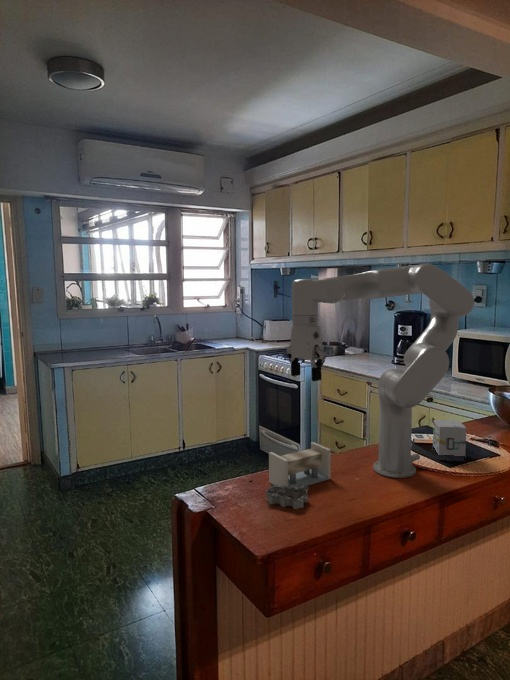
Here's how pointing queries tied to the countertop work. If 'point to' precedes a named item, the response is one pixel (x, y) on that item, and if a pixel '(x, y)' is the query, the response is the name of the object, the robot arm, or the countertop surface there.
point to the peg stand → (305, 478)
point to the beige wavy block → (303, 461)
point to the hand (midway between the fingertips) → (305, 378)
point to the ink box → (449, 437)
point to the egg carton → (283, 492)
